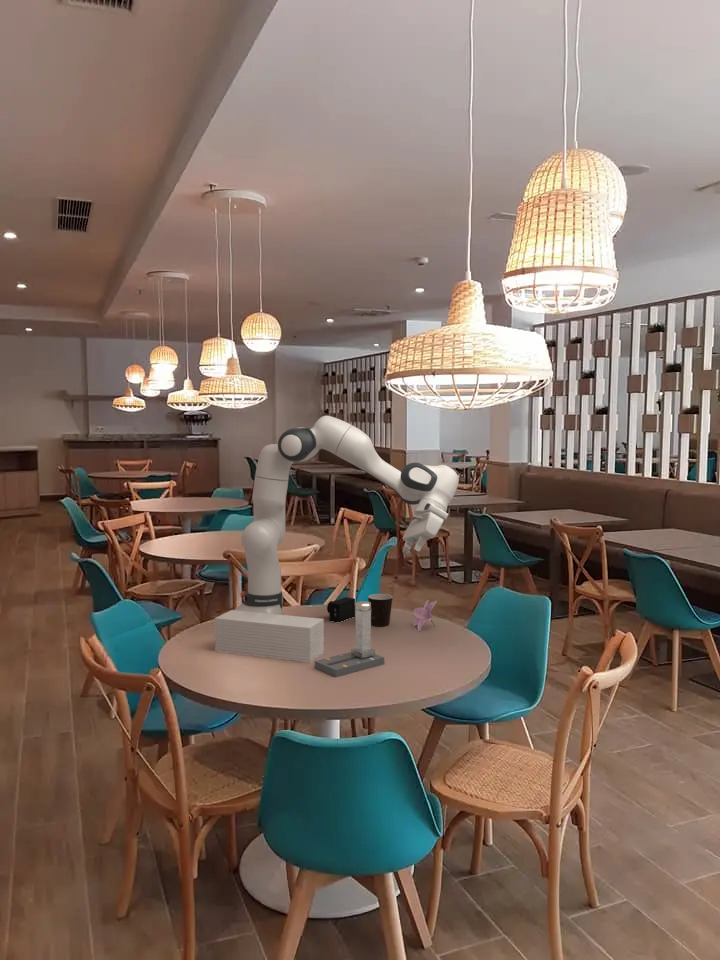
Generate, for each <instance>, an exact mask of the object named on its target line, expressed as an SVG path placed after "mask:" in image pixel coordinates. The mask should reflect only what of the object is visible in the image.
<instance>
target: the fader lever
mask: <svg viewBox="0 0 720 960" xmlns="http://www.w3.org/2000/svg"><path fill="white" fill-rule="evenodd" d="M371 632H372V625H371V603H370V602H369V601H363V600H361V601H355V645H354V646H355V647H354V648H351V649H350V652H351V655H354V656H357V657H359V658H366V657H370V656H374V655H375V654H376V649H373V648H372V647H371V646H372V640H371V639H372V638H371V637H372V635H371V634H372V633H371Z"/></svg>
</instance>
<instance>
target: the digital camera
mask: <svg viewBox="0 0 720 960" xmlns="http://www.w3.org/2000/svg"><path fill="white" fill-rule="evenodd" d="M326 611H327V613H328V614H329V616H328V617H329V622H330V621H334V622H333V623H335V622H341V621H343V622H345V621H344V620H346V619H348V620H350V619H349V618H351V619H353V618H352V617H354V618H356V598H354V597H349V596H348V597H347V596H346V597H342V598H339V599H336V600H330V601H328V603H327V607H326ZM346 621H347V620H346ZM341 623H342V622H341Z"/></svg>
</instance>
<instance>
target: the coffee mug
mask: <svg viewBox="0 0 720 960" xmlns="http://www.w3.org/2000/svg"><path fill="white" fill-rule="evenodd" d="M393 598H394V597H393V595H391V594H386V593H373V594H369V595H368V596H367V600H368V601H367V602H370V603H371V627H374V626H375V627H374V628H386V627H385V626H387V627H389V626H390V620H391V613H392V605H393ZM388 625H389V626H388Z"/></svg>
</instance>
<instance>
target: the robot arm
mask: <svg viewBox="0 0 720 960" xmlns="http://www.w3.org/2000/svg"><path fill="white" fill-rule="evenodd" d="M321 450H325V451H327V452H330V453H332V454H333V455H335V456H336V457H338V458H340V459H342V460H344V461H346V462H348V463H349V464H352V465H354V466H355V467H357V468H359V469H360V470H363V472H365V473H367V474H368V475H370V476H372V478H374V479H376V480H377V481H379V482H381V483H383V484H384V485H385V486H387V487H388V488H390V489H391V490H392V491H394V492H395V494H396V495H397V496H398V498H399V499H400V500H401V501H402V502H404V503H405V504H407V505H412V506H413V505H417V506H416V508H415V510H414V514H415V516H416V517H415V518H414V519H412V520H411V522H409V525H408V527H407V529H405V531H404V534H403V536H402V540H403V541H404V548H403V550H402V553H403V554H404V555H409V554H410V553H411V549H412V546H413V545H414V544H415V545H414V546H413V551H415V552H416V553H417V552H420V551H421V550H422V548H423V546H424V545H425V544H426V542H427V541H428V540H430V539H434V537H436V536H437V534H438V533H439V530H440V529H441V527H442V525H443V523H444V522H445V521H446V520H447V518H448V517H449V513H447V511H448V510H447V509H448V506H449V504H450V502H451V501H452V500H453V499H454V496H455V494H456V492H457V489H458V486H459V482H460V480H459V474H457V472H456V470H454V469H453V468H452V467H450V466H448V465H445V464H439V465H429V464H428V465H427V464H422V463H420V462H410V463H408V464H406V465H405V466H403V468H402V470H401V471H400V470H399V469H398V468H396V467H394V466H392V464H390V463H388V462H386V461H385V460H384V459H382V458H381V457H380V456H379V454H378V453H377V450H375V446H374V445H373V442H372V439H371V438H370V436H368V435H367V434H366V433H365V432H364V431H362V430H361V429H360V428H358V427H357V426H354V425H353V424H351V423H349V422H346V421H344V420H342V419H340V418H338V417H334V416H331V415H323V416H321V417H320V418H318V419H317V420H316V421H315V423H314V425H313V426H312V427H311V428H310V427H301V426H297V427H293V428H290V429H287V430H285V431H284V432H283V433H281V435H280V437H279V438H278V442H277V443H269V444H267V445H265V446H264V447H262V449H261V450H260V453H259V455H258V460H257V464H256V469H255V475H254V483H253V489H252V490H253V491H252V497H251V498H252V499H251V500H252V503H253V521H252V522H250V523H249V524H248V525H246V526H245V528H244V530H243V531H242V533H241V534H242V535H241V539H240V540H241V545H242V547H243V549H244V550H243V551H244V555H245V560H246V561H245V562H246V565H247V591H244V590H243V591H241V592H240V594H239V595H240V598H241V604H240V605H238V606H237V607H236V608H235V609H234V610H238V611H248V612H258V613H268V614H278V615H283V605H284V604H283V603H284V595H283V591H282V568H281V565H280V562H279V561H280V560H279V555H278V546H280V545H281V543H282V542H283V540H284V539H285V536H286V530H287V529H286V502H287V501H286V500H287V494H288V488H289V487H288V485H289V478H290V471H291V470H290V469H291V467H292V465H293V464H294V463H297V462H298V463H299V462H306V461H308V460H311V459H314V458H315V457H317V456H318V455H319V453H320V451H321Z"/></svg>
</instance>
